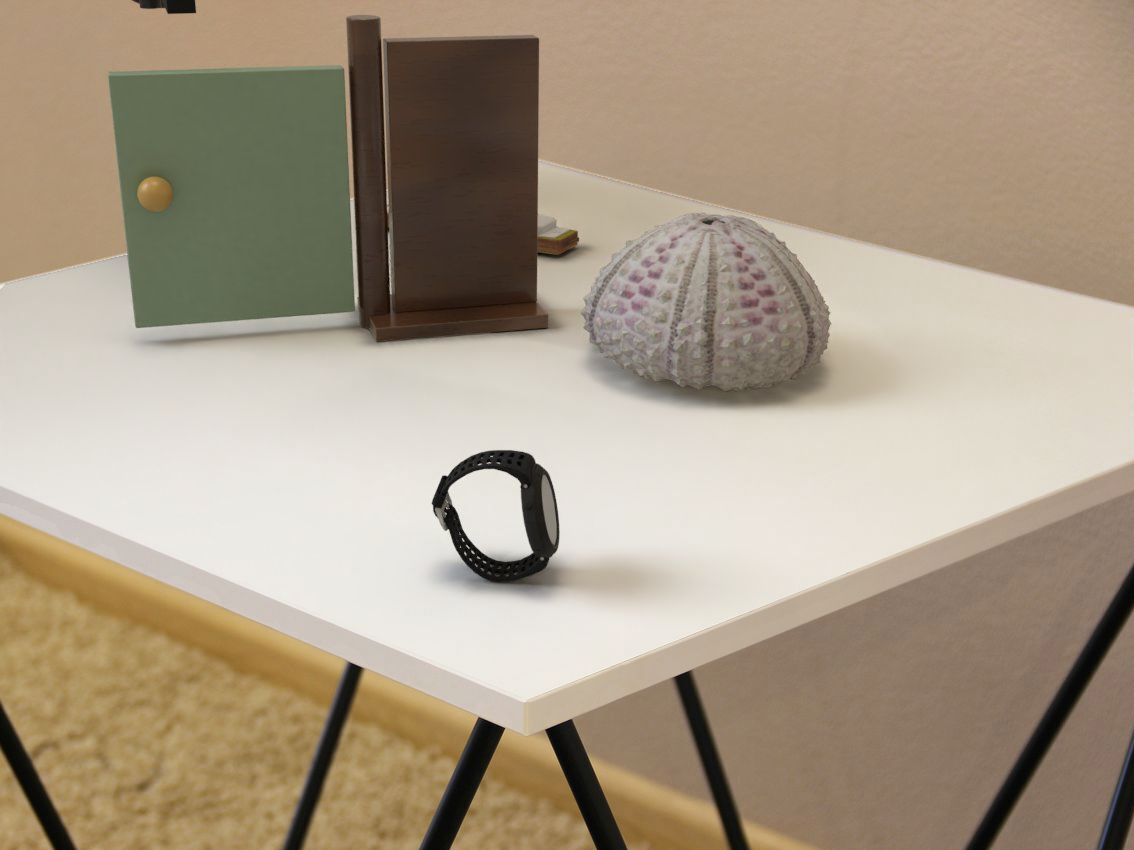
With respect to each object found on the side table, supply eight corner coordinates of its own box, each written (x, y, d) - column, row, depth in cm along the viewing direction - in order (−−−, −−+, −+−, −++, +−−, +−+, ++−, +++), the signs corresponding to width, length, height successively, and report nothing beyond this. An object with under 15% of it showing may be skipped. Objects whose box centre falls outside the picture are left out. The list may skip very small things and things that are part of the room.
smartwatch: (534, 607, 58) (535, 488, 56) (419, 575, 60) (416, 459, 58) (583, 563, 61) (585, 449, 59) (473, 535, 63) (471, 423, 61)
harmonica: (579, 247, 103) (579, 218, 102) (558, 258, 100) (558, 229, 100) (396, 218, 109) (395, 191, 108) (372, 228, 106) (370, 200, 105)
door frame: (369, 342, 85) (356, 25, 77) (350, 309, 90) (336, 9, 83) (548, 327, 88) (552, 21, 80) (520, 297, 93) (521, 6, 86)
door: (137, 338, 81) (109, 80, 76) (134, 322, 84) (107, 71, 78) (360, 321, 85) (349, 73, 79) (352, 306, 87) (341, 64, 81)
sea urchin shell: (657, 309, 91) (663, 176, 88) (869, 354, 85) (884, 212, 81) (534, 373, 81) (536, 225, 77) (765, 429, 75) (777, 271, 71)
